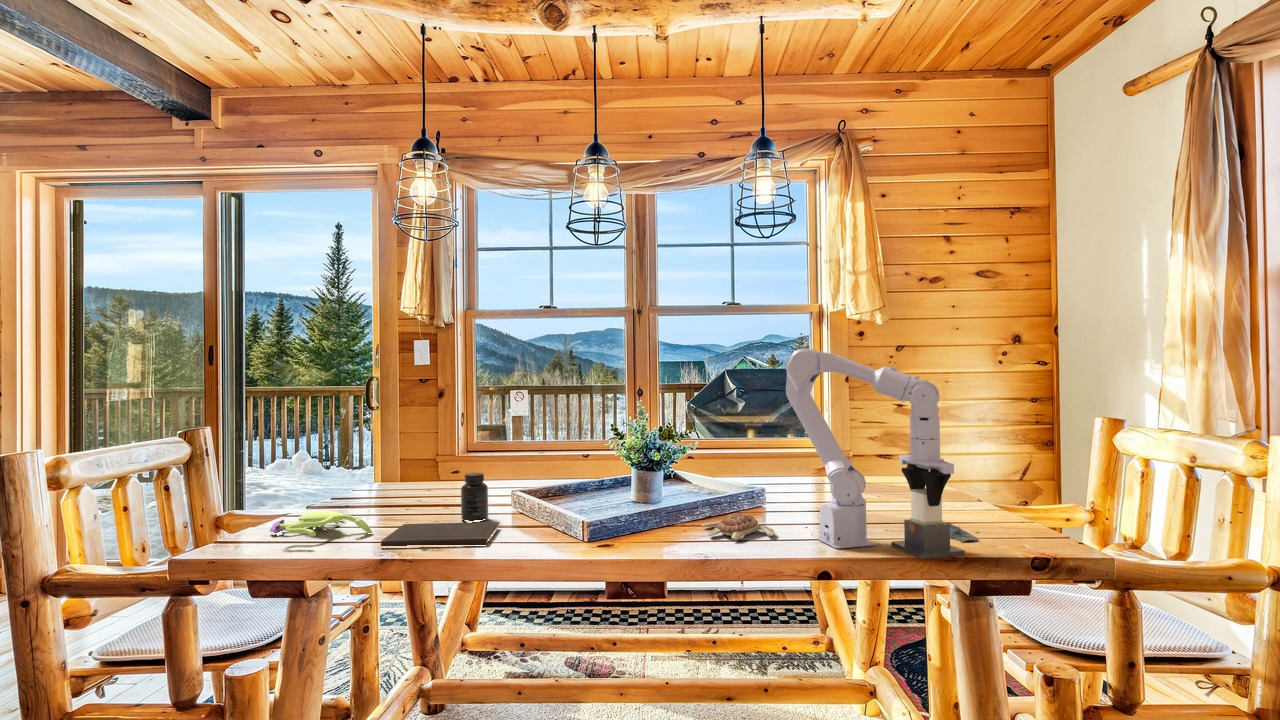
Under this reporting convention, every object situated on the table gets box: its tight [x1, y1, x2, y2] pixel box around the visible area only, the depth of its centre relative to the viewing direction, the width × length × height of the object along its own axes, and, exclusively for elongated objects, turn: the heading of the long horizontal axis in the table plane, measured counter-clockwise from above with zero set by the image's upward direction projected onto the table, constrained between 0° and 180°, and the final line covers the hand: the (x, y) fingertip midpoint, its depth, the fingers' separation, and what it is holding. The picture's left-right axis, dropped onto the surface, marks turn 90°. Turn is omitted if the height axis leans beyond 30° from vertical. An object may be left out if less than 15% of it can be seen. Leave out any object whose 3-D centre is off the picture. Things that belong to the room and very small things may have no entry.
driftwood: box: [946, 522, 980, 543], centre depth 151 cm, size 21×7×2 cm, turn 175°
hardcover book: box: [380, 521, 500, 547], centre depth 149 cm, size 16×23×2 cm
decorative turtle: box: [701, 512, 776, 541], centre depth 151 cm, size 18×17×5 cm
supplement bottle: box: [460, 472, 489, 521], centre depth 168 cm, size 7×7×12 cm
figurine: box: [269, 510, 373, 537], centre depth 155 cm, size 18×27×6 cm
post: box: [910, 488, 944, 526], centre depth 135 cm, size 4×4×9 cm
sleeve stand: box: [890, 518, 966, 560], centre depth 135 cm, size 10×10×6 cm
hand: (926, 503), depth 135 cm, fingers closed on post, 4 cm apart
